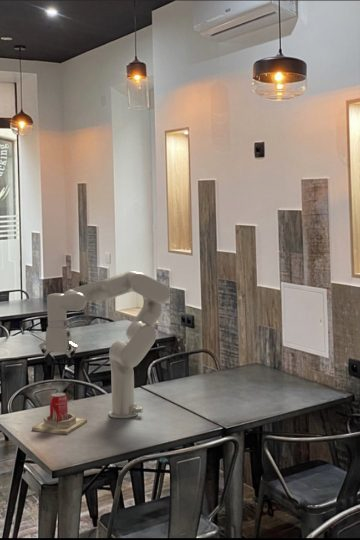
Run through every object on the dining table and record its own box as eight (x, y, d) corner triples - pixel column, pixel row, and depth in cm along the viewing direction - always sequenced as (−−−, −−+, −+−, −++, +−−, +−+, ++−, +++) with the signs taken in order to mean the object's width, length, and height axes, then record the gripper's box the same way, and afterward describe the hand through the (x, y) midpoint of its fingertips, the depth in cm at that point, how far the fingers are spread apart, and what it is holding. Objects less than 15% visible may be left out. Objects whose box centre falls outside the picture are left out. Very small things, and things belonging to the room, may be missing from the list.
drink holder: (86, 422, 271) (86, 413, 271) (67, 434, 256) (66, 425, 256) (53, 418, 277) (53, 409, 276) (32, 430, 262) (31, 421, 261)
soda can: (51, 420, 270) (50, 392, 269) (68, 419, 270) (67, 391, 269) (49, 426, 263) (48, 397, 262) (67, 425, 263) (66, 396, 262)
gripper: (81, 323, 265) (82, 364, 267) (43, 321, 271) (45, 362, 272) (72, 326, 258) (73, 369, 260) (33, 325, 264) (35, 366, 265)
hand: (59, 365), depth 266 cm, fingers open, 9 cm apart
